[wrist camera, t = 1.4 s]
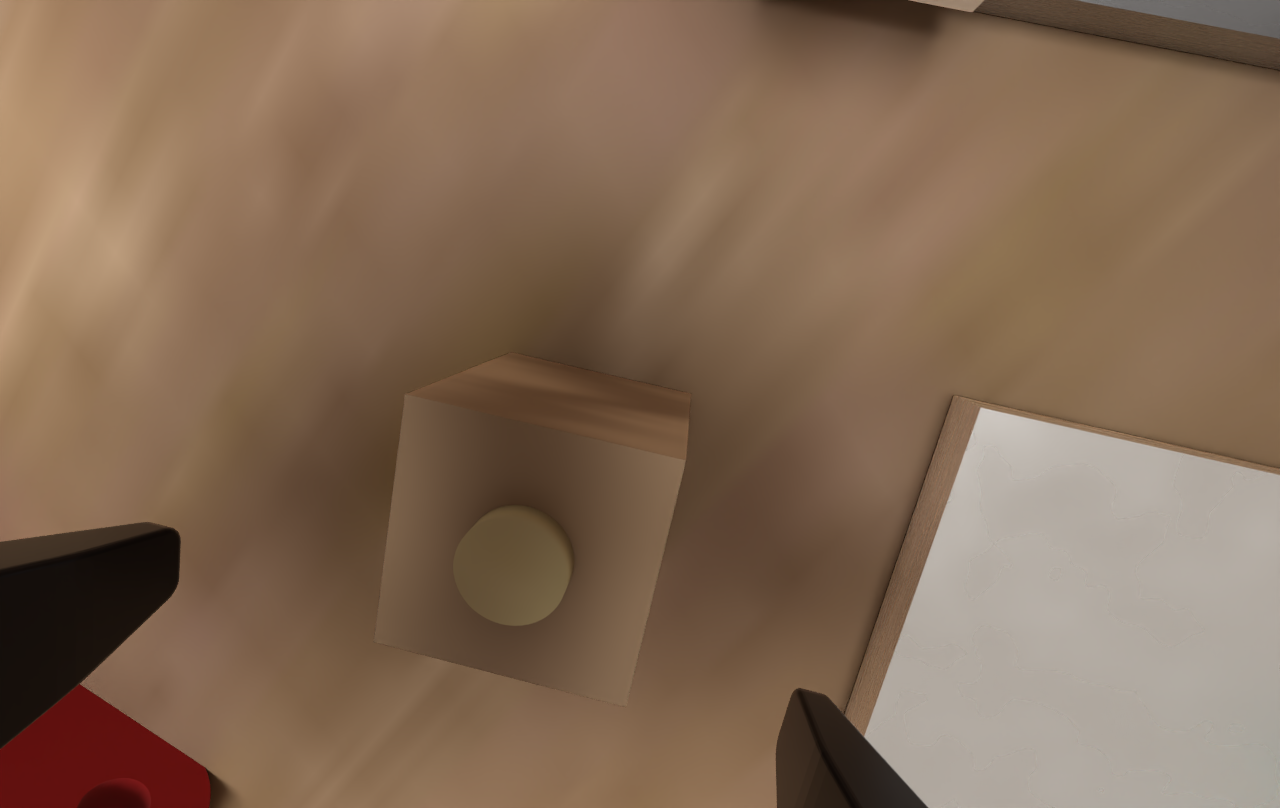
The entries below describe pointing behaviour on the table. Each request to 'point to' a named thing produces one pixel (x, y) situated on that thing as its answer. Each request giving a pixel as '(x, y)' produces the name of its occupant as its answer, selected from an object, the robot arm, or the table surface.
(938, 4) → the white rectangular block
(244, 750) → the table surface
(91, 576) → the robot arm
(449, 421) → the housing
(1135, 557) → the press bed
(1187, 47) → the rail
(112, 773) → the mechanical linkage
